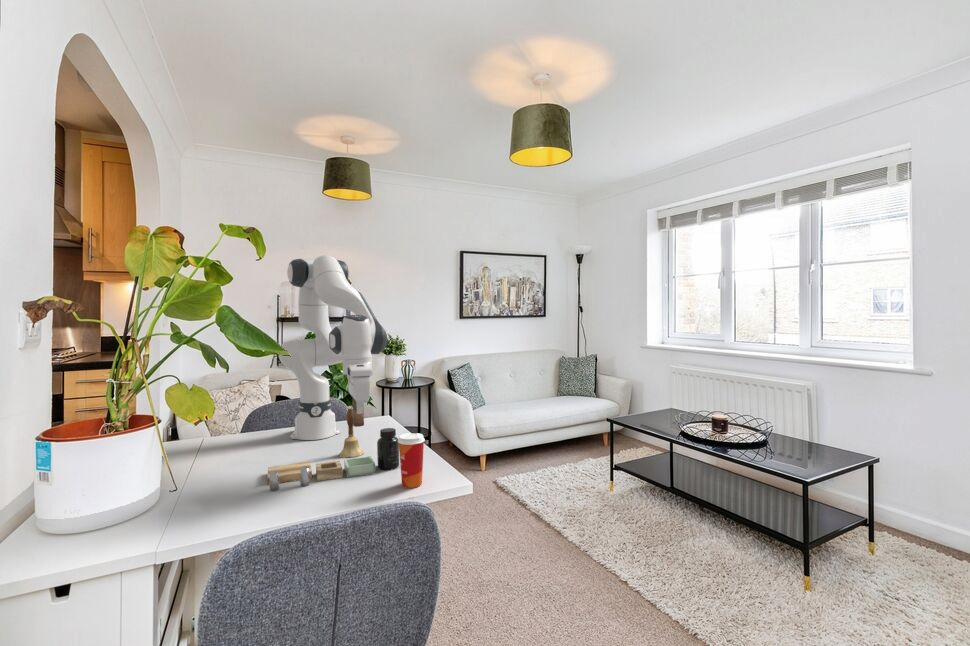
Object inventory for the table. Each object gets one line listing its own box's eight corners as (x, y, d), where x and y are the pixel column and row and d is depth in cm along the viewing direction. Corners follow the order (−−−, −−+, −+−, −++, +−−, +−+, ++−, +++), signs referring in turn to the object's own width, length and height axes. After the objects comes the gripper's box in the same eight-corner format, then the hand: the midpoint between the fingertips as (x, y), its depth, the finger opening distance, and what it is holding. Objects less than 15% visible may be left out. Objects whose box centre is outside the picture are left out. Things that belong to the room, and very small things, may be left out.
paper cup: (401, 479, 136) (400, 432, 135) (427, 479, 136) (426, 432, 135) (395, 490, 128) (394, 439, 128) (423, 490, 128) (422, 439, 127)
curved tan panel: (268, 475, 142) (267, 467, 142) (309, 469, 147) (309, 461, 147) (267, 486, 133) (267, 477, 133) (311, 479, 138) (311, 471, 138)
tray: (344, 469, 146) (344, 459, 146) (370, 465, 149) (370, 456, 149) (347, 477, 138) (347, 467, 138) (375, 473, 141) (375, 463, 141)
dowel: (352, 425, 144) (352, 396, 144) (363, 423, 145) (362, 395, 145) (354, 427, 141) (353, 397, 141) (364, 425, 142) (364, 396, 142)
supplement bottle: (373, 467, 147) (372, 430, 147) (391, 462, 152) (390, 425, 152) (385, 472, 142) (385, 433, 142) (403, 466, 147) (403, 429, 147)
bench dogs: (269, 488, 130) (269, 471, 130) (309, 482, 134) (308, 465, 134) (269, 491, 128) (269, 473, 128) (309, 485, 132) (309, 468, 132)
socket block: (316, 473, 142) (316, 463, 142) (339, 470, 145) (339, 460, 145) (317, 481, 135) (317, 471, 135) (342, 477, 138) (342, 467, 138)
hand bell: (334, 457, 158) (333, 410, 158) (347, 449, 166) (346, 405, 166) (355, 458, 156) (354, 411, 156) (368, 451, 164) (367, 406, 164)
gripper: (343, 364, 151) (343, 406, 151) (351, 371, 132) (352, 419, 133) (362, 363, 154) (363, 404, 154) (373, 370, 135) (374, 417, 135)
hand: (358, 412), depth 143 cm, fingers closed on dowel, 3 cm apart
